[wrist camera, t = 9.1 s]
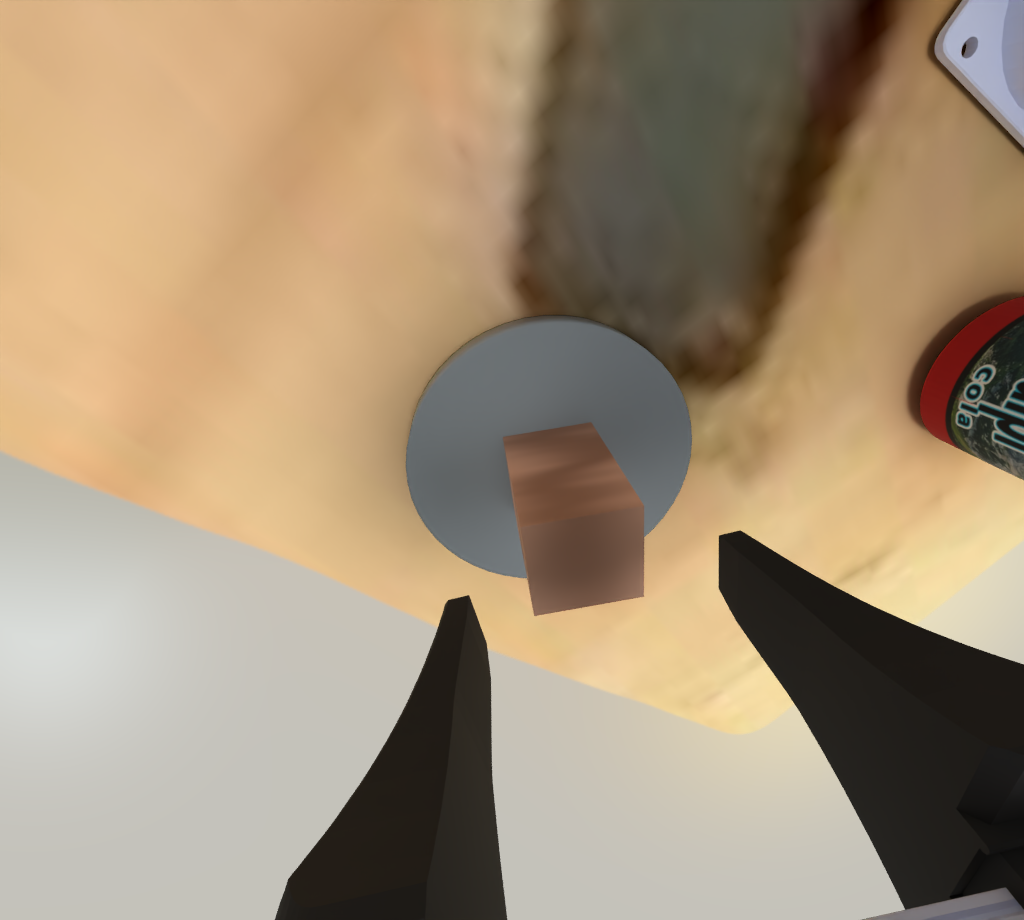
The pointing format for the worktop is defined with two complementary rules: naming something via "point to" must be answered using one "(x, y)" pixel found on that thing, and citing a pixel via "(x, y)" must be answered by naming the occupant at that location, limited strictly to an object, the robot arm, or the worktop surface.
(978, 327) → the beverage can
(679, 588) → the worktop surface
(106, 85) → the worktop surface
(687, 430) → the slate base plate
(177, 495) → the worktop surface
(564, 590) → the terracotta block
